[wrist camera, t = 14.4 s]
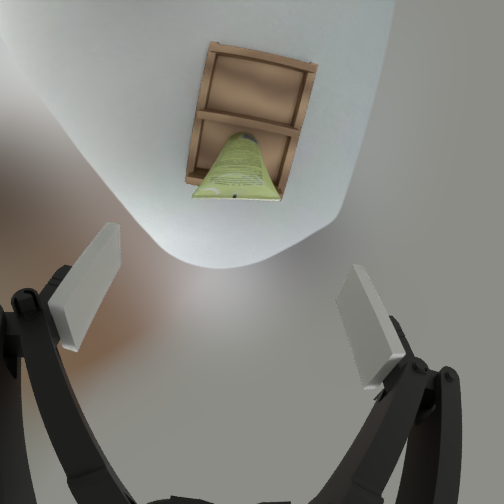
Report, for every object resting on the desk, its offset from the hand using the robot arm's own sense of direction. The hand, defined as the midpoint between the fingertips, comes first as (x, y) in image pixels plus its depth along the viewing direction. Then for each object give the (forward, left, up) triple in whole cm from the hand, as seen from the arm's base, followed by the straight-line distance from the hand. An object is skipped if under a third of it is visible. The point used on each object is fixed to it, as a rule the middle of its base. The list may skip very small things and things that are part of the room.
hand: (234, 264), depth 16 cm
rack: (-4, 0, -31) cm, 31 cm away
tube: (0, 0, -29) cm, 29 cm away
